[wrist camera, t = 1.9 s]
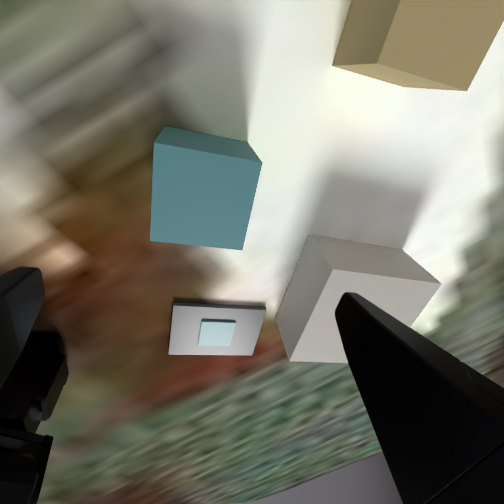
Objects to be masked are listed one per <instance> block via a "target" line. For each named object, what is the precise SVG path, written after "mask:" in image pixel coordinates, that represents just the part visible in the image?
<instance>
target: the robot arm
mask: <svg viewBox="0 0 504 504" xmlns="http://www.w3.org/2000/svg"><path fill="white" fill-rule="evenodd" d="M44 298H45V290H44V284H43V279H42V273H41V271H40V269H38V268H36V267H24V266H21V267H17V268H15V269H13V270H10V271H8V272H6V273H3V274H1V275H0V504H36V503H37V501H38V497H39V494H40V490H41V486H42V482H43V478H44V474H45V470H46V466H47V462H48V458H49V454H50V449H51V445H52V441H53V436H49V435H45V436H43V435H39V434H35V433H36V431H37V428H38V426H39V424H40V422H41V421H46V420H47V419H49V418H50V416H51V414H52V412H53V409H54V407H55V405H56V402H57V400H58V398H59V395H60V393H61V391H62V389H63V386H64V385H65V384H66V382H67V377H68V375H69V372H68V366H67V360H66V356H65V355H64V354H63V351H62V345H61V340H60V336H59V335H58V334H56V333H45V332H31V329H32V327H33V325H34V322H35V320H36V318H37V315H38V313H39V311H40V308H41V306H42V304H43V301H44ZM335 319H336V323H337V327H338V330H339V334H340V337H341V341H342V345H343V348H344V352H345V355H346V358H347V361H348V364H349V366H350V369H351V371H352V374H353V376H354V379H355V382H356V384H357V387H358V389H359V392H360V394H361V397H362V400H363V402H364V405H365V407H366V410H367V412H368V415H369V418H370V420H371V423H372V425H373V428H374V430H375V433H376V436H377V438H378V441H379V443H380V446H381V448H382V451H383V454H384V456H385V459H386V461H387V464H388V466H389V469H390V471H391V474H392V477H393V479H394V482H395V484H396V487H397V490H398V492H399V495H400V497H401V500H402V502H403V504H504V388H503V387H501V386H500V385H498V384H496V383H495V382H493V381H491V380H490V379H488V378H487V377H485V376H484V375H482V374H480V373H479V372H477V371H476V370H474V369H473V368H471V367H470V366H468V365H467V364H465V363H464V362H460V360H459V359H457V358H456V357H454V356H453V355H451V354H450V353H448V352H447V351H445V350H443V349H442V348H440V347H439V346H437V345H436V344H434V343H433V342H431V341H430V340H428V339H427V338H425V337H424V336H422V335H420V334H419V333H417V332H416V331H414V330H413V329H411V328H410V327H408V326H407V325H405V324H404V323H402V322H401V321H399V320H398V319H396V318H394V317H393V316H391V315H390V314H388V313H387V312H385V311H384V310H382V309H381V308H379V307H378V306H376V305H375V304H373V303H371V302H370V301H368V300H367V299H365V298H364V297H362V296H361V295H359V294H358V293H354V292H345V293H344V294H343V295H342V297H341V299H340V301H339V303H338V305H337V307H336V309H335Z"/></svg>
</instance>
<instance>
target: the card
mask: <svg viewBox="0 0 504 504" xmlns="http://www.w3.org/2000/svg"><path fill="white" fill-rule="evenodd" d="M265 313H266V307H252V306H234V305H215V304H197V303H178V302H174V305H173V315H172V325H171V335H170V345H169V354H172V355H252V354H253V351H254V348H255V344H256V341H257V338H258V335H259V332H260V329H261V326H262V322H263V319H264V316H265Z"/></svg>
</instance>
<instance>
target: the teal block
mask: <svg viewBox="0 0 504 504" xmlns="http://www.w3.org/2000/svg"><path fill="white" fill-rule="evenodd" d="M261 166H262V162H261V160H260V159H259V157H258V156H257V155H256V153H255V152H254V150H253V149H252V148H251V146H250V145H249V144H248V142H244V141H239V140H234V139H229V138H224V137H219V136H214V135H209V134H204V133H199V132H194V131H189V130H184V129H179V128H174V127H169V126H164V128H163V130H162V131H161V133H160V134H159V136H158V137H157V139H156V140H155V142H154V155H153V180H152V204H151V229H150V241H159V242H168V243H178V244H188V245H197V246H207V247H216V248H226V249H236V250H242V249H243V244H244V240H245V236H246V231H247V227H248V223H249V218H250V214H251V210H252V205H253V201H254V197H255V192H256V188H257V183H258V179H259V175H260V170H261Z"/></svg>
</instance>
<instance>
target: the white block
mask: <svg viewBox="0 0 504 504" xmlns="http://www.w3.org/2000/svg"><path fill="white" fill-rule="evenodd" d="M440 285H441V283H440V282H439V281H438V280H437V279H436V278H434V277H433V276H432V275H431V274H430V273H429V272H427V271H426V270H425V269H424V268H423V267H422V266H420V265H419V264H418V263H417V262H416V261H415V260H413V259H412V258H411V257H410V256H409V255H408V254H406V253H405V252H404V251H403V250H400V249H394V248H388V247H382V246H376V245H370V244H364V243H358V242H352V241H346V240H340V239H334V238H328V237H322V236H316V235H310V234H309V235H308V238H307V240H306V243H305V245H304V248H303V250H302V253H301V255H300V258H299V260H298V263H297V265H296V268H295V270H294V273H293V275H292V278H291V280H290V283H289V285H288V288H287V290H286V293H285V295H284V298H283V300H282V303H281V305H280V308H279V310H278V313H277V315H276V321H277V324H278V328H279V331H280V334H281V337H282V340H283V343H284V346H285V350H286V353H287V356H288V359H289V361H301V362H331V363H348V361H347V358H346V355H345V352H344V348H343V345H342V341H341V337H340V334H339V330H338V327H337V323H336V319H335V309H336V307H337V305H338V303H339V301H340V299H341V297H342V295H343V294H344V293H345V292H354V293H358V294H359V295H361V296H362V297H364V298H365V299H367V300H368V301H370V302H371V303H373V304H375V305H376V306H378V307H379V308H381V309H382V310H384V311H385V312H387V313H388V314H390V315H391V316H393V317H394V318H396V319H398V320H399V321H401V322H402V323H404V324H405V325H407V326H408V327H411V325H412V324H413V323H414V321H415V320H416V318H417V317H418V316H419V314H420V313H421V312H422V310H423V309H424V307H425V306H426V305H427V303H428V302H429V301H430V299H431V298H432V296H433V295H434V294H435V292H436V291H437V290H438V288H439V287H440Z"/></svg>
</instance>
